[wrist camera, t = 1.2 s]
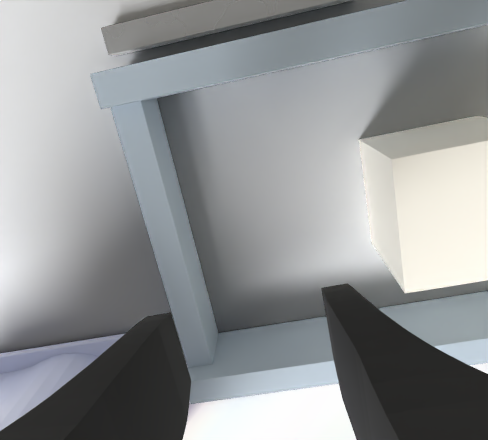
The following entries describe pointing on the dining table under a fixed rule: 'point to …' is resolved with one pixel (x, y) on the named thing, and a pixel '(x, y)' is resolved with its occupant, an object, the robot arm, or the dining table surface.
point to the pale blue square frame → (177, 223)
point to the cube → (430, 202)
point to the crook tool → (200, 22)
